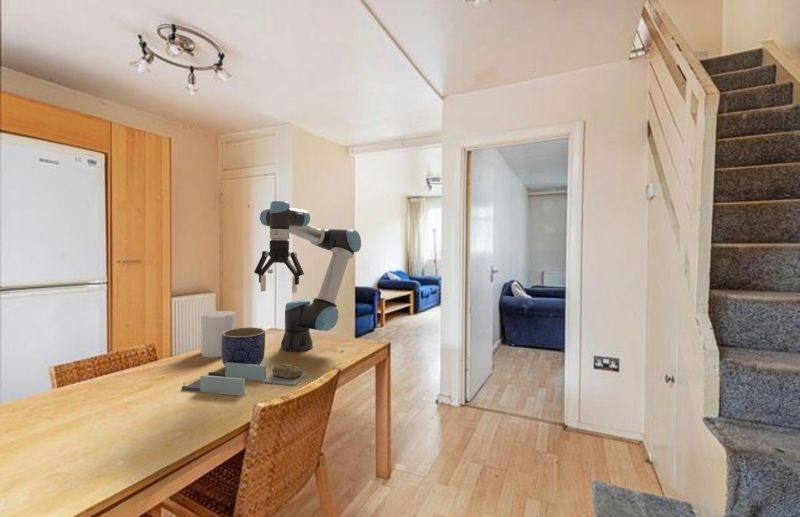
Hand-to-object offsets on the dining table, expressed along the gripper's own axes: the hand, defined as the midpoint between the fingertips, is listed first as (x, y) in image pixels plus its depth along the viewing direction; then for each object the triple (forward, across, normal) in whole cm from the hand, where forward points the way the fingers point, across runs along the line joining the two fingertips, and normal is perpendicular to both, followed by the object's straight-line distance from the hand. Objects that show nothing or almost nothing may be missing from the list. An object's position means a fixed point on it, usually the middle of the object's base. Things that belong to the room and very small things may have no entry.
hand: (278, 291), depth 151 cm
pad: (+32, +8, -9) cm, 34 cm away
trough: (+32, -10, -20) cm, 39 cm away
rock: (+31, +8, -8) cm, 33 cm away
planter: (+32, -14, -2) cm, 35 cm away
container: (+32, -36, +14) cm, 50 cm away
